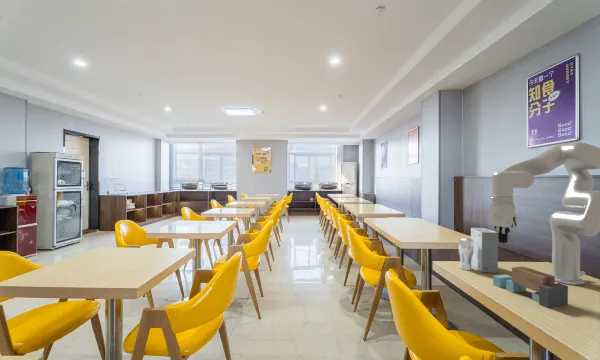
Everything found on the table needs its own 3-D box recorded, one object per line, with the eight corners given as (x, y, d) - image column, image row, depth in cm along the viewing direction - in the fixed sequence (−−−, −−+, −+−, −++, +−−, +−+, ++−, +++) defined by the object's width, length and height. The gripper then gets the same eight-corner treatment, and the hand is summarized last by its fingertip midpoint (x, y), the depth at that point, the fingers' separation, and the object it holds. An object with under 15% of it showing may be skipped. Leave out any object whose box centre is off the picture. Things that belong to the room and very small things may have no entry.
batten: (545, 291, 115) (556, 294, 111) (545, 298, 115) (556, 302, 111) (532, 292, 113) (542, 296, 109) (531, 300, 113) (542, 304, 109)
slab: (522, 280, 122) (523, 266, 122) (554, 292, 111) (555, 276, 110) (511, 281, 121) (512, 267, 120) (542, 293, 109) (543, 277, 109)
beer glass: (455, 267, 153) (455, 238, 153) (464, 265, 156) (464, 237, 156) (467, 271, 147) (467, 241, 147) (477, 269, 150) (477, 240, 149)
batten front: (519, 288, 124) (519, 279, 124) (526, 291, 121) (526, 281, 121) (506, 290, 122) (506, 280, 122) (513, 292, 120) (513, 282, 119)
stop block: (558, 301, 111) (558, 283, 111) (567, 304, 108) (568, 285, 108) (539, 304, 108) (539, 285, 108) (547, 307, 106) (548, 288, 106)
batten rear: (505, 283, 130) (505, 274, 130) (512, 285, 127) (512, 276, 127) (493, 284, 128) (493, 275, 128) (499, 287, 125) (499, 278, 125)
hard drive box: (498, 273, 144) (498, 232, 143) (481, 272, 145) (481, 232, 145) (485, 264, 159) (485, 227, 159) (469, 263, 160) (470, 227, 160)
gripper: (480, 199, 134) (481, 239, 134) (512, 201, 120) (513, 246, 120) (493, 198, 136) (494, 238, 136) (526, 201, 122) (526, 245, 122)
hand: (503, 242), depth 128 cm, fingers closed
